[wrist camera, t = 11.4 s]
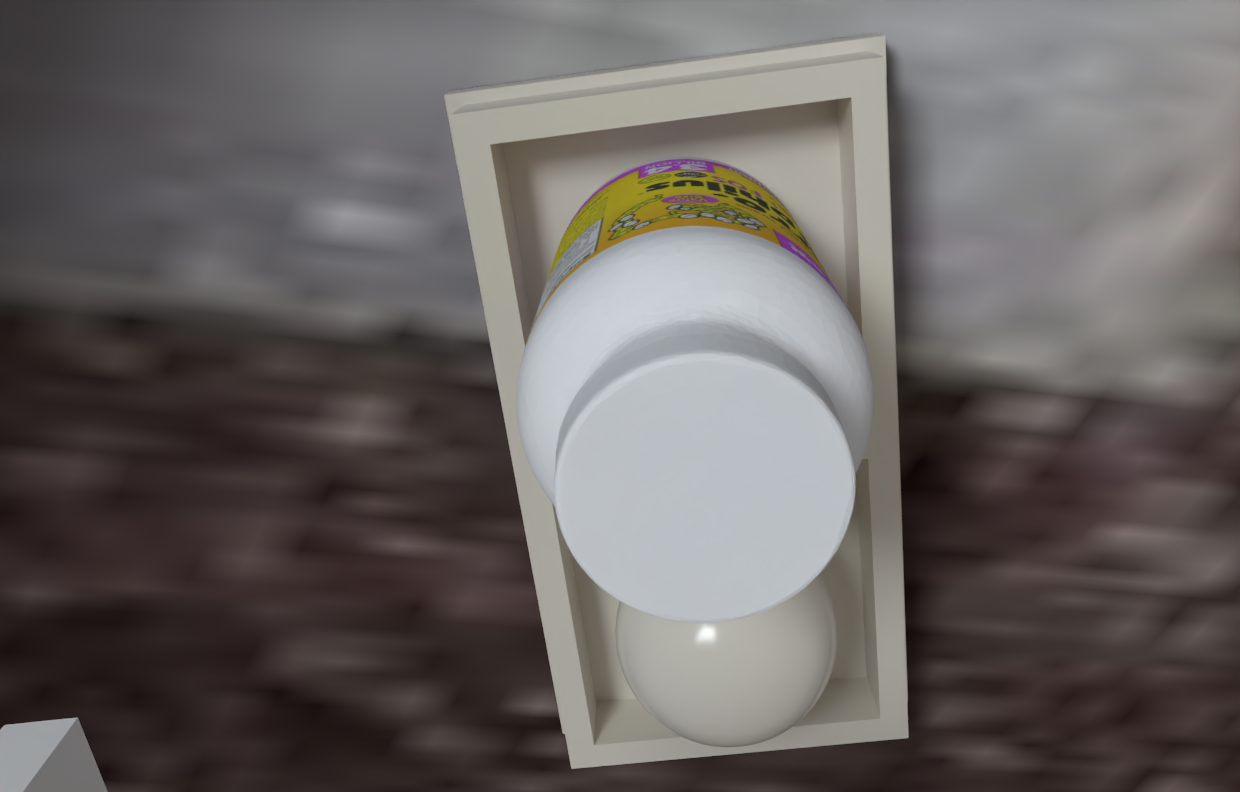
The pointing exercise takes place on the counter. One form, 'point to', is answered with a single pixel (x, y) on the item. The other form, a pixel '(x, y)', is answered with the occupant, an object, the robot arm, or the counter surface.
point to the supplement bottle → (694, 394)
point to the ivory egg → (731, 668)
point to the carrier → (846, 248)
